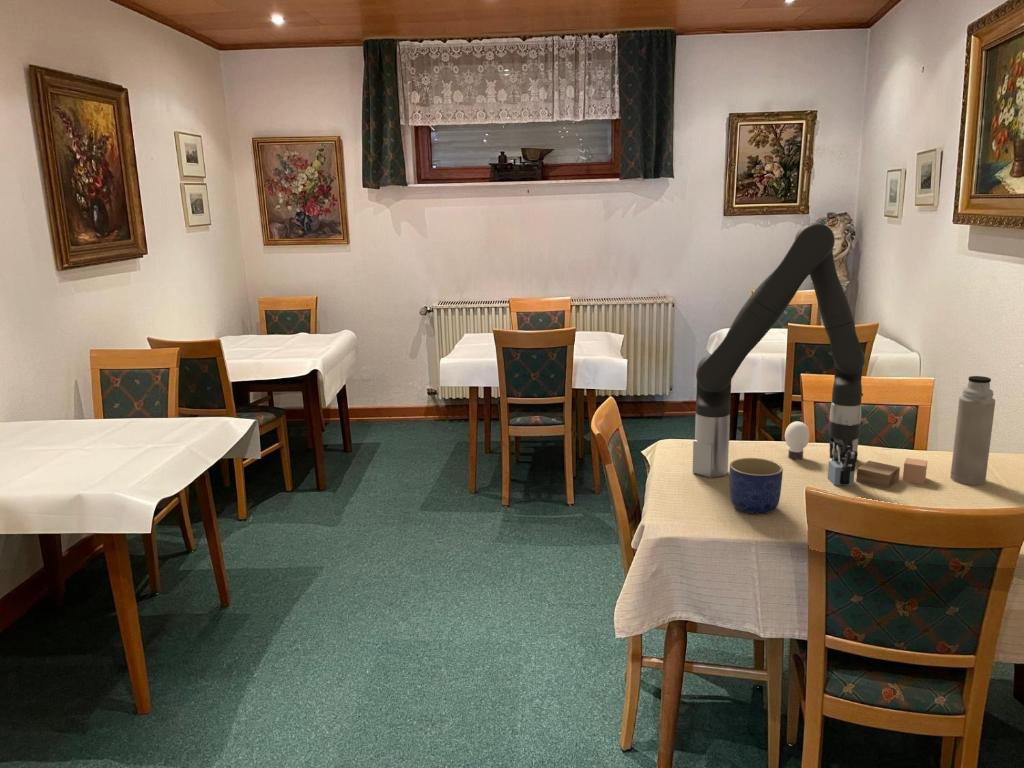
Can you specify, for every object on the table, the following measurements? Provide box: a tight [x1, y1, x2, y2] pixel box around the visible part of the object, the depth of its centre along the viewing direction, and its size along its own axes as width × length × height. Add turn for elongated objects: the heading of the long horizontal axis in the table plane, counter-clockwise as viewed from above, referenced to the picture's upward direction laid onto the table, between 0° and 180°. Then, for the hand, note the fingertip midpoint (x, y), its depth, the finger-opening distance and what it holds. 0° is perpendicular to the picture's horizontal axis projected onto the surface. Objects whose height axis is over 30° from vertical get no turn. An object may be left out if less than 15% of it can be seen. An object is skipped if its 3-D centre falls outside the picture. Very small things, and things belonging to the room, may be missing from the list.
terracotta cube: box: [902, 457, 928, 485], centre depth 197 cm, size 5×5×5 cm
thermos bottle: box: [949, 375, 996, 486], centre depth 192 cm, size 8×8×28 cm
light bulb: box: [784, 420, 811, 460], centre depth 216 cm, size 7×7×11 cm
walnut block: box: [856, 460, 901, 489], centre depth 197 cm, size 8×8×4 cm
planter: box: [729, 457, 784, 515], centre depth 182 cm, size 12×12×11 cm
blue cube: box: [827, 460, 856, 486], centre depth 197 cm, size 5×5×5 cm
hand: (840, 480), depth 197 cm, fingers closed on blue cube, 5 cm apart
